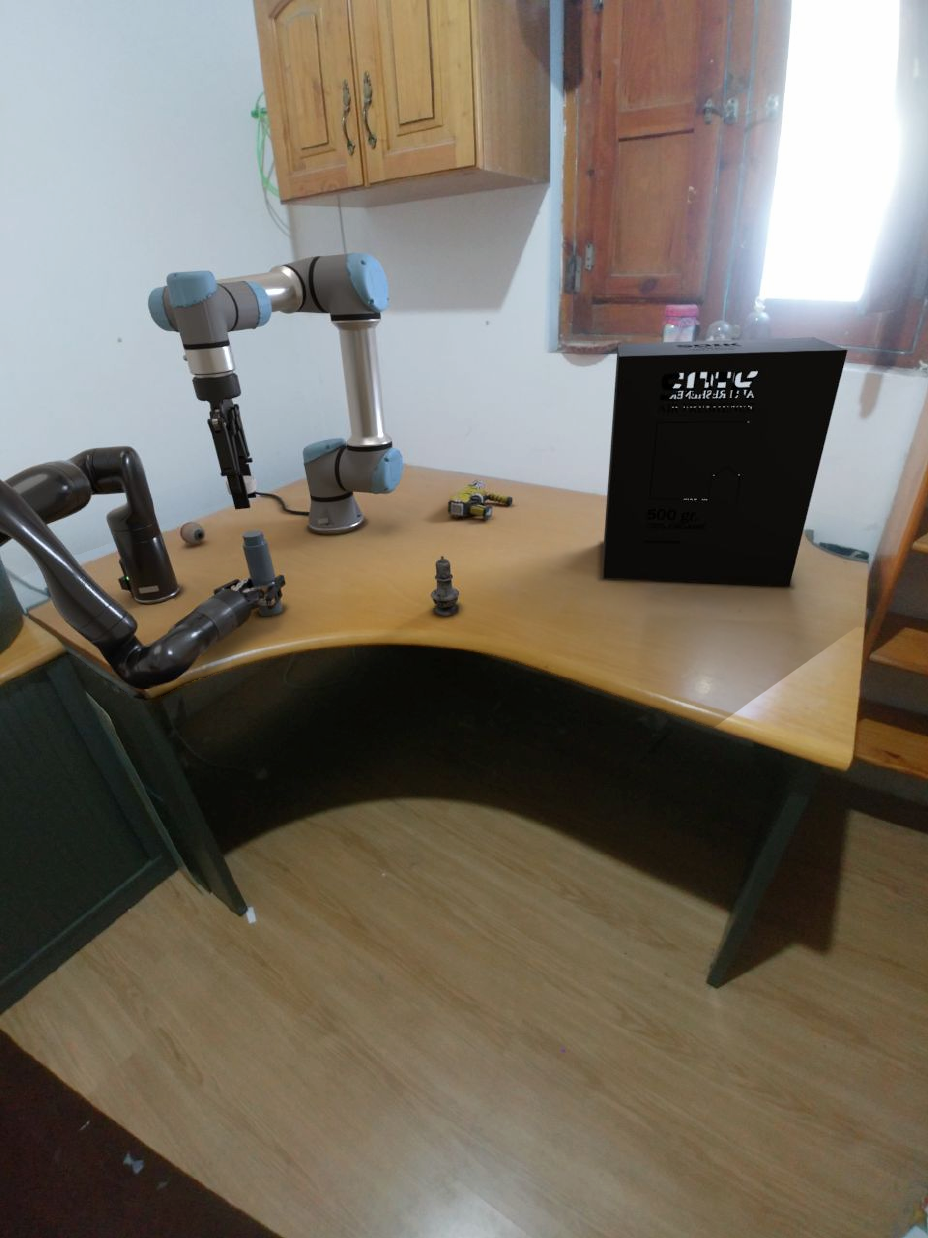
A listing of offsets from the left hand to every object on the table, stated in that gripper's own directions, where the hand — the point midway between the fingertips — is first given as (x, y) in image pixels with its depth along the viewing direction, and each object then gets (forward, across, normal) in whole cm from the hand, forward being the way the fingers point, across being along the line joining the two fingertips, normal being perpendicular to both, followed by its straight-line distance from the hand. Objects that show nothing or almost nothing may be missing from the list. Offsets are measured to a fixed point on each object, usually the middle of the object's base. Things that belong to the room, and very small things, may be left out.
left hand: (271, 577), depth 126 cm
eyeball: (+24, +43, +6) cm, 50 cm away
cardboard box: (+40, -82, +6) cm, 92 cm away
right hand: (-2, 0, -17) cm, 17 cm away
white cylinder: (-2, 0, -21) cm, 22 cm away
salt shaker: (+7, -36, +6) cm, 37 cm away
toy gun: (+67, -26, +6) cm, 72 cm away
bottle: (-3, 0, +6) cm, 7 cm away
